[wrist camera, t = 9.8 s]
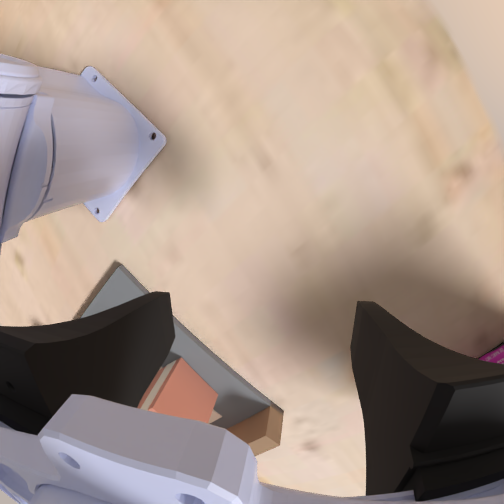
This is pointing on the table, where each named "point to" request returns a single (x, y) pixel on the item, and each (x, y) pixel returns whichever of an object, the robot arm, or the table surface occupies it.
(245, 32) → the table surface
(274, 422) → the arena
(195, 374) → the block
